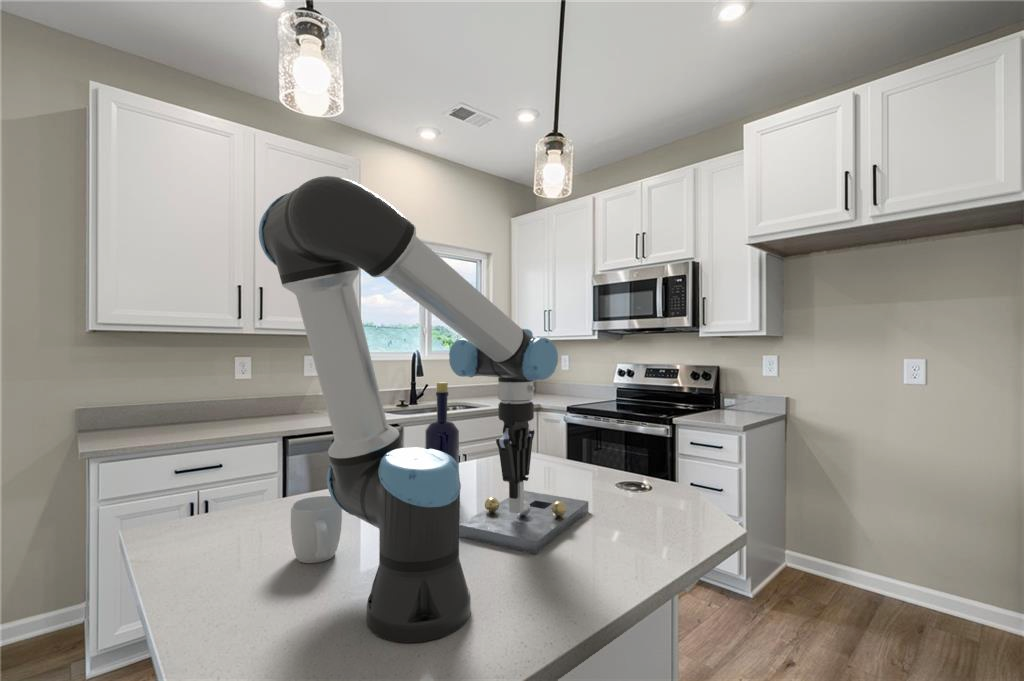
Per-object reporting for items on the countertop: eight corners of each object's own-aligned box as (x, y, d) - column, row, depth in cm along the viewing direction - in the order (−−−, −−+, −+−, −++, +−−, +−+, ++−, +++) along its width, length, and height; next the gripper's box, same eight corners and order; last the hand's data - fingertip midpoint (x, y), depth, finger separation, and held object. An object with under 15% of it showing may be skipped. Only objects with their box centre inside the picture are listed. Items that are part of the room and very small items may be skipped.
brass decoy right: (562, 519, 106) (562, 504, 106) (549, 517, 108) (549, 502, 108) (568, 515, 109) (568, 500, 109) (555, 512, 111) (555, 498, 111)
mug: (288, 552, 95) (288, 499, 95) (337, 543, 99) (337, 493, 100) (295, 580, 84) (295, 520, 84) (349, 568, 88) (350, 512, 88)
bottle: (462, 495, 132) (463, 381, 132) (455, 506, 123) (456, 384, 123) (428, 493, 133) (429, 381, 133) (418, 504, 124) (419, 383, 124)
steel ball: (533, 501, 110) (532, 516, 109) (520, 499, 111) (519, 514, 111) (526, 502, 107) (525, 517, 106) (513, 499, 109) (512, 515, 108)
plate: (536, 554, 94) (536, 541, 94) (458, 536, 103) (458, 524, 103) (588, 511, 119) (588, 501, 119) (521, 500, 128) (521, 490, 128)
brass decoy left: (494, 515, 109) (494, 500, 109) (482, 513, 110) (482, 498, 110) (501, 511, 112) (501, 496, 112) (489, 508, 113) (489, 494, 113)
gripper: (516, 405, 98) (517, 525, 98) (545, 399, 110) (545, 505, 110) (484, 403, 102) (485, 518, 102) (515, 397, 114) (515, 500, 114)
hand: (516, 511), depth 106 cm, fingers closed
